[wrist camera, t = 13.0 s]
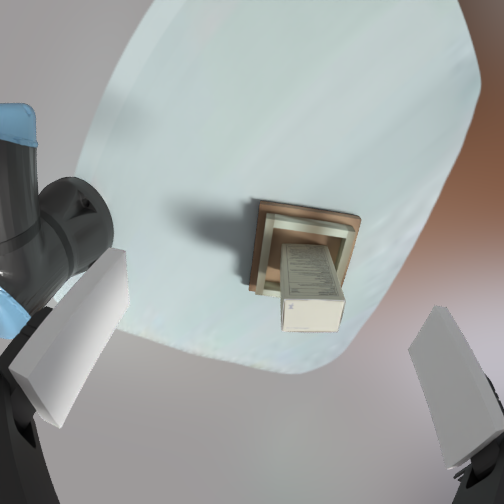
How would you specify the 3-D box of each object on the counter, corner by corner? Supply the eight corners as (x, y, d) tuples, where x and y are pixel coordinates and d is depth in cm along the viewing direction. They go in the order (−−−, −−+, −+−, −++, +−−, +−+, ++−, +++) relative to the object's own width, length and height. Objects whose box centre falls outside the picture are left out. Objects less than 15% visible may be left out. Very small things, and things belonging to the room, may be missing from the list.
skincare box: (279, 270, 40) (278, 332, 30) (281, 241, 38) (281, 298, 28) (325, 272, 40) (338, 334, 29) (329, 243, 38) (346, 301, 27)
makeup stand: (249, 285, 43) (247, 299, 41) (260, 200, 37) (258, 209, 34) (335, 296, 43) (338, 310, 40) (359, 216, 37) (365, 226, 34)
